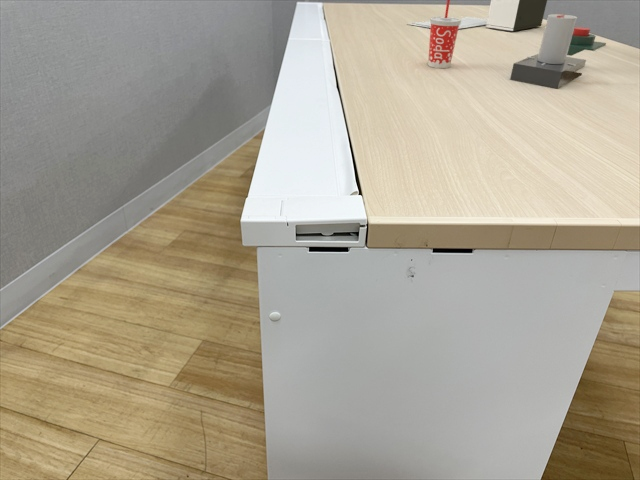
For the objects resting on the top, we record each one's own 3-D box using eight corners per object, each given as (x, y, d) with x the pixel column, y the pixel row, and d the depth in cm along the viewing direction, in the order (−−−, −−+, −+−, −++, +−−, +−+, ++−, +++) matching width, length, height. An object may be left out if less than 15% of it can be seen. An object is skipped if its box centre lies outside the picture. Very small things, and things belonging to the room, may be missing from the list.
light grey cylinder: (542, 57, 97) (554, 11, 93) (568, 61, 94) (581, 14, 90) (533, 61, 94) (544, 14, 90) (559, 65, 91) (572, 17, 87)
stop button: (589, 36, 115) (592, 28, 115) (585, 38, 113) (587, 30, 112) (574, 34, 117) (576, 26, 117) (569, 36, 115) (571, 28, 114)
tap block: (536, 67, 103) (540, 51, 101) (582, 75, 98) (587, 59, 96) (509, 79, 94) (513, 62, 92) (557, 88, 89) (563, 70, 87)
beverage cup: (418, 65, 102) (428, -10, 94) (432, 60, 106) (442, -12, 98) (446, 70, 99) (458, -7, 91) (458, 65, 103) (471, -9, 95)
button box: (603, 52, 118) (608, 34, 116) (590, 58, 111) (596, 40, 109) (560, 46, 123) (565, 29, 121) (546, 52, 117) (551, 34, 115)
